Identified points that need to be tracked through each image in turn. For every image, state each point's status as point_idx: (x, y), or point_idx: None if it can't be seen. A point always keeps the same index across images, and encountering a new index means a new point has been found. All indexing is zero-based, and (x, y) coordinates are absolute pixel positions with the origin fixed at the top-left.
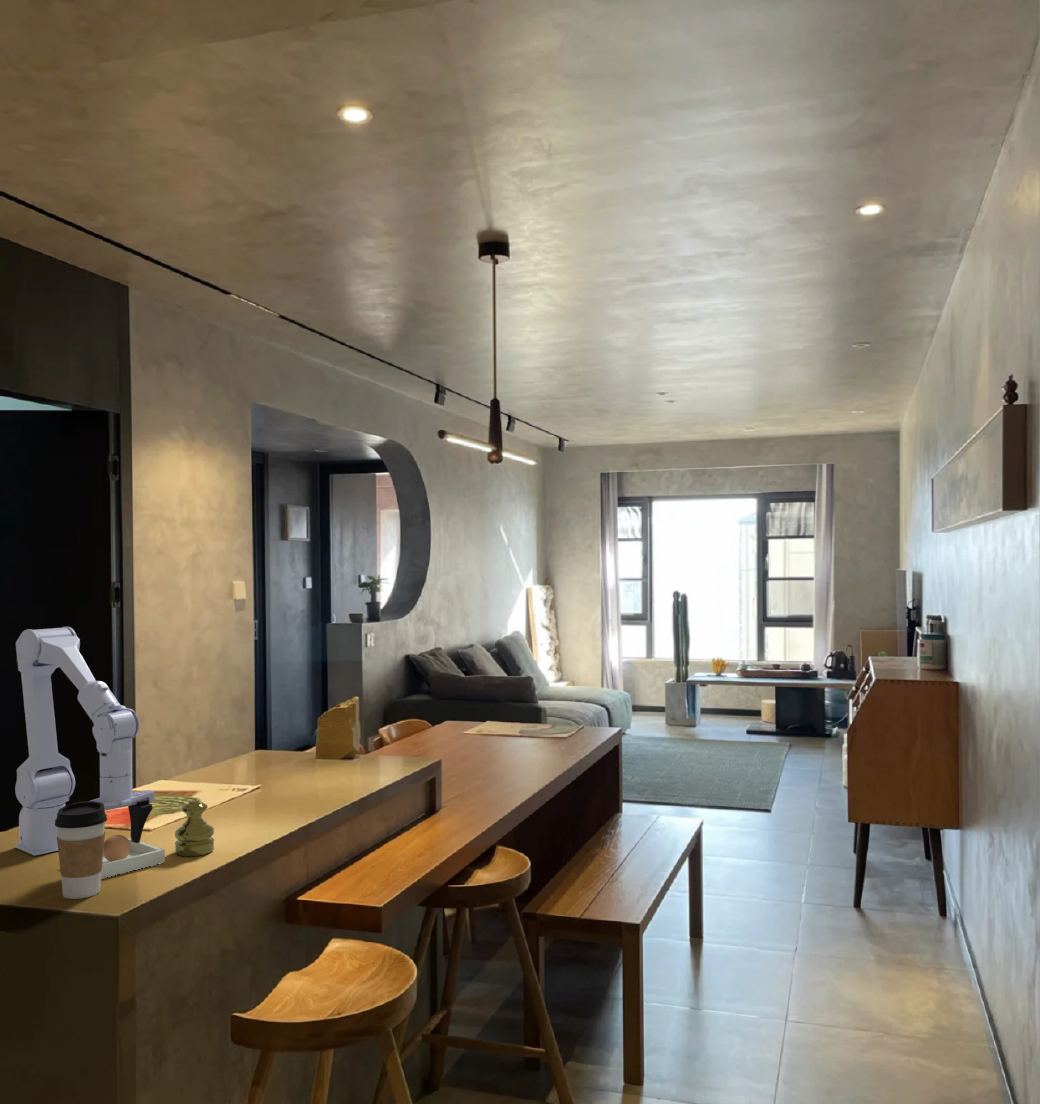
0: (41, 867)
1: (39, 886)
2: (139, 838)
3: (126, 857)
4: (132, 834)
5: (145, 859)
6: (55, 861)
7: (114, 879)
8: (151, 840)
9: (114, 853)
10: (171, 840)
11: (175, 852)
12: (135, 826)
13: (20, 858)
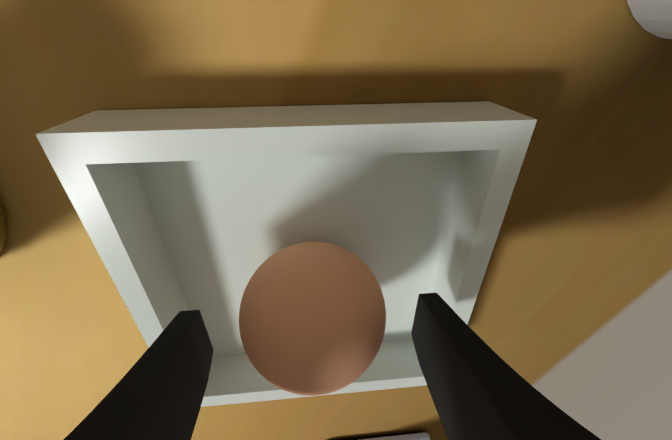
0: None
1: (650, 208)
2: (172, 328)
3: None
4: (198, 382)
5: (212, 120)
6: None
7: (450, 37)
8: None
9: (354, 261)
10: (21, 380)
11: (3, 224)
12: (162, 430)
13: None
